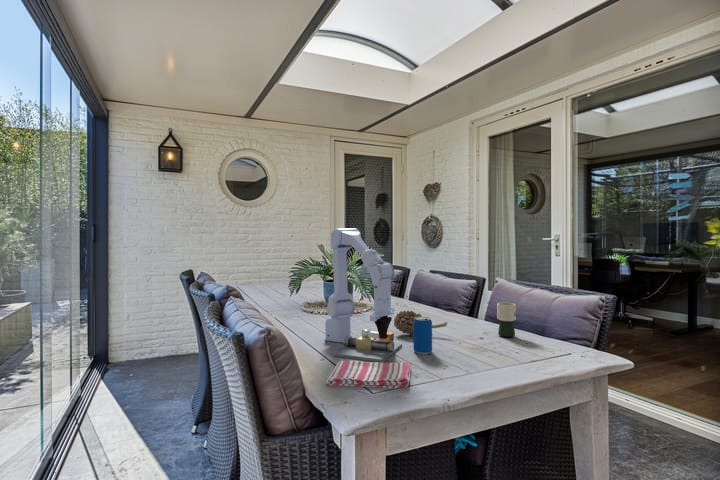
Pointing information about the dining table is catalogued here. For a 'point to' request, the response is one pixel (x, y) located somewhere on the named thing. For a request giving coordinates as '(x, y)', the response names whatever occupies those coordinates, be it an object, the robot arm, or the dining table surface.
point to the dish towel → (370, 374)
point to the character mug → (506, 318)
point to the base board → (366, 353)
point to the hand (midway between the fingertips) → (382, 338)
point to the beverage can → (422, 335)
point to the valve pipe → (368, 344)
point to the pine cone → (409, 322)
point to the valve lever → (376, 335)
